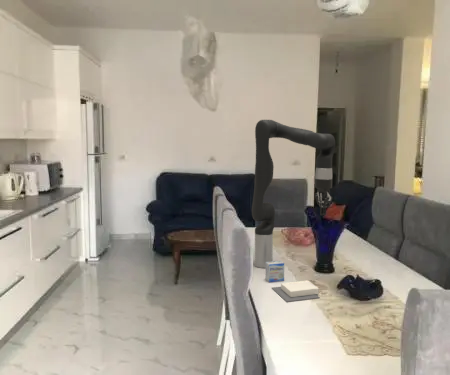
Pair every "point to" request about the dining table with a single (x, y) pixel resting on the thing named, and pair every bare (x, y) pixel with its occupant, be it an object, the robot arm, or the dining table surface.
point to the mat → (291, 299)
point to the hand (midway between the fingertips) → (322, 215)
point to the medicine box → (274, 271)
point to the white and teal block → (299, 288)
